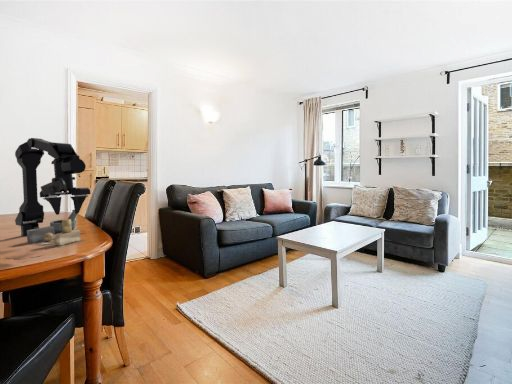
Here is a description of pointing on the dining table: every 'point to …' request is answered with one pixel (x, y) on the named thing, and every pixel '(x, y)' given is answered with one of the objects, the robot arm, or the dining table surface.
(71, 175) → the robot arm
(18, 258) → the dining table surface
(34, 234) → the base
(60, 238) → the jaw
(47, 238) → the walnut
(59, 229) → the mortar and pestle
